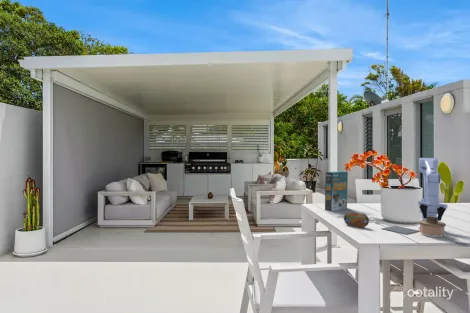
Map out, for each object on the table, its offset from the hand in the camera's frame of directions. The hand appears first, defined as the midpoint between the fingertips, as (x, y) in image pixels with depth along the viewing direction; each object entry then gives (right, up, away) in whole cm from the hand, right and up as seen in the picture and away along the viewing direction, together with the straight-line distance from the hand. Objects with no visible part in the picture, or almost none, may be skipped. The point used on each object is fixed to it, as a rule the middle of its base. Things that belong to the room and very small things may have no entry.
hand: (432, 219), depth 181 cm
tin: (-35, -8, +19) cm, 41 cm away
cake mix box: (-28, -8, +81) cm, 86 cm away
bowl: (0, -9, 0) cm, 9 cm away
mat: (-13, -8, +10) cm, 18 cm away
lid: (0, -3, 0) cm, 3 cm away
